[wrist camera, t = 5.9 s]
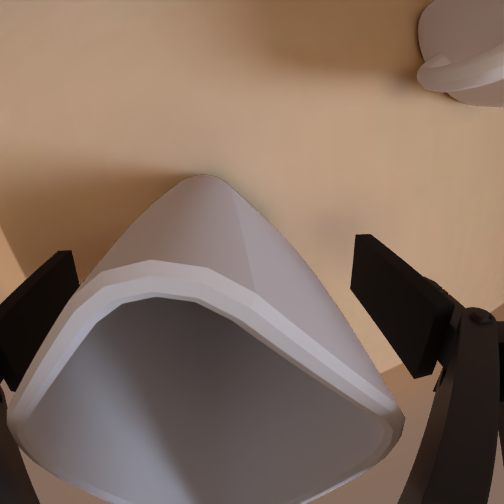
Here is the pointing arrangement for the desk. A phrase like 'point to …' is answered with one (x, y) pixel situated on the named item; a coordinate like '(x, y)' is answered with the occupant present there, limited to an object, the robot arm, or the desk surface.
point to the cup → (203, 368)
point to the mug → (463, 50)
